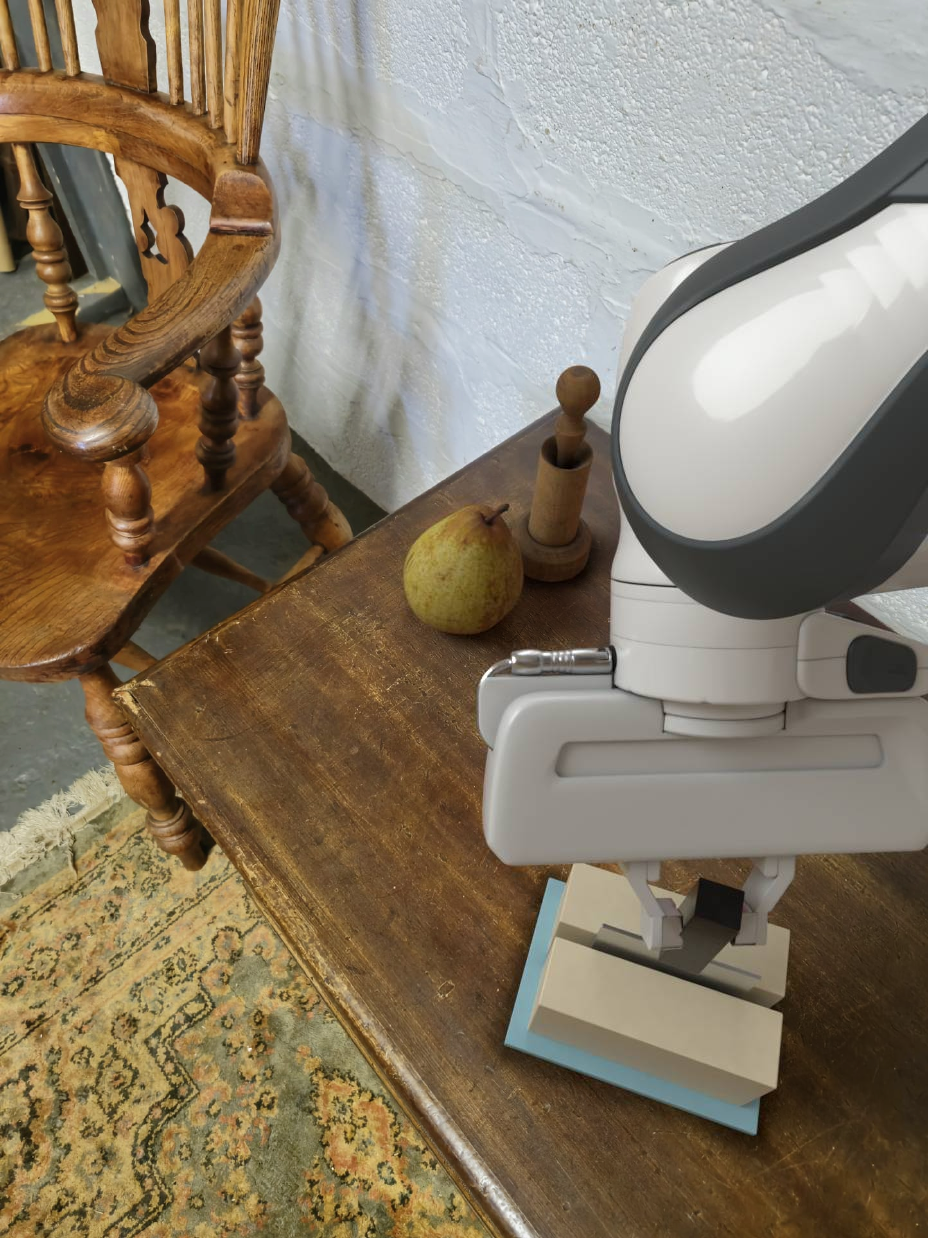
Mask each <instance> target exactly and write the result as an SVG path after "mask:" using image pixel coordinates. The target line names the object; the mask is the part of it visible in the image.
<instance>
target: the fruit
mask: <svg viewBox="0 0 928 1238" xmlns="http://www.w3.org/2000/svg"><path fill="white" fill-rule="evenodd" d="M509 508H510V504H509V503H503V504H500V506H498V507H497V508H496V509H493V508H492V507H490V506H489V505H484V504H479V503H474V504H470V505H467V506H465V507H463V508H461V509H459V510H457V511H455V512H454V513H452V514H449V515H448V516H447V517H444V518H442V520H440V521H438V522H436V524H433V525H431V526H430V527H428V528H427V529H426V530H425V531H424V532H423V533H422V534H420V536H419V537H418V538H417V539H415V541H414V543H413V544H412V546H411V548H410V549H409V551H408V553H407V555H406V558H405V561H404V565H403V574H402V575H403V577H402V578H403V579H402V580H403V587H404V593H405V596H406V600H407V602H408V604H409V606H410V609H411V610H412V612H413V613H414V615H415V616H416V617H417V618H418V619H419V620H420V621H421V622H422V623H423V624H425V625H426V626H427V627H429V628H431V629H433V630H435V631H438V632H442V633H445V634H453V635H476V634H479V633H483V632H486V631H488V630H490V629H491V628H493V627H494V626H495V625H497V624H498V623H499V622H500V621H502V620H503V619H504V618H505V617H506V616H507V615H508V614H509V613H510V612H511V611H512V610H513V608H514V607H515V605H516V604H517V602H518V600H519V598H520V596H521V593H522V590H523V586H524V580H525V579H524V576H525V575H524V574H523V563H522V558H521V554H520V551H519V548H518V545H517V543H516V541H515V539H514V537H513V535H512V534H511V533H512V531H511V530H510V528H509V526H508V525H507V522H506V521H505V520H504V517H502V514H504V513H505V512H508V511H509Z"/></svg>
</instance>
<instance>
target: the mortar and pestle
mask: <svg viewBox="0 0 928 1238" xmlns="http://www.w3.org/2000/svg"><path fill="white" fill-rule="evenodd" d="M601 390H602V385H601V381H600V377H599V376H598V374H597V373H596V372H595V370H594V369H592V368H590V367H589V366H587V365H581V364H579V365H577V364H576V365H572V366H569V367H568V368H566V369H565V370H563V371H562V372H561V374H560V375H559V377H558V378H557V381H556V384H555V395H556V399H557V401H558V403H559V406H560V407H561V409H562V415H561V416H559V418H557V420H556V421H555V424H554V432H555V434H552V435H551V436H548V437H547V438H546V439H545V440H544V441H543V442H542V444H541V446H540V451H539V456H538V463H537V464H538V465H537V470H536V471H537V472H536V476H535V477H536V478H535V485H534V490H533V495H532V496H533V498H532V503H531V509H528V510H527V511H525V512H523V513H522V514H520V515H519V516H518V517H517V518H516V520H515V521H514V523H513V524H512V525H513V526H512V529H511V534H512V535H513V537H514V539H515V541H516V543H517V545H518V548H519V551H520V554H521V558H522V563H523V575H524V576H526V577H528V578H531V579H532V580H535V581H541V582H546V583H547V582H548V583H556V582H557V583H558V582H563V581H567V580H569V579H572V578H574V577H576V576H577V575H579V574H580V573H581V572H582V571H583V570H584V568H585V567H586V565H587V563H588V560H589V555H590V551H591V547H592V540H593V537H592V532H591V528H590V527H589V525H588V523H587V522H586V521H585V520H584V519H583V518H582V517H581V515H582V510H583V505H584V501H585V495H586V491H587V486H588V483H589V482H588V481H589V478H590V474H591V473H590V472H591V469H592V464H593V463H592V462H593V460H594V449H593V448H592V446H591V444H590V443H589V442H588V441H587V440H586V439H585V437H586V435H587V432H588V424H587V421H586V420H584V419H583V418H584V416H585V415H586V413H587V412H589V410H590V409H592V408H593V407H594V406H595V404H596V403H597V402H598V401H599V398H600V396H601V392H602V391H601Z"/></svg>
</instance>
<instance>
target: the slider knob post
mask: <svg viewBox="0 0 928 1238" xmlns="http://www.w3.org/2000/svg"><path fill="white" fill-rule="evenodd" d="M685 896H686V898H685V899H684V900H683V902H682V903H681V905H680V906H679V907H678V909H679V910H680V912H681V913H682V915H683V931H682V932H681V933H680V935H681V937H682V939H683V946H682V948H681V949H671V950H652V951H650V950H648V948H647V946H646V944H645V942H644V940H643V938H642V936H640V935H637V934H634V933H631V932H628V931H625V930H622V929H619V928H616V927H613V926H611V925H608V924H605V923H603V924H602V925H601V927H600V929H599V931H598V933H597V935H596V937H595V939H594V941H593V943H592V945H591V946H590V948H591V949H594V950H597V951H600V952H603V953H606V954H609V955H612V956H615V957H618V958H621V959H624V960H627V961H630V962H633V963H636V964H639V965H642V966H645V967H647V968H650V969H653V970H656V971H659V972H662V973H665V974H668V975H671V976H674V977H677V978H680V979H683V980H686V981H689V982H692V983H695V984H698V985H701V986H703V987H706V988H709V989H712V990H715V991H718V992H721V993H724V994H727V995H730V996H733V997H736V998H739V999H740V998H741V997H742V996H743V995H744V994H745V993H747V992H748V991H749V990H750V989H751V988H753V987H754V986H755V985H756V984H757V983H758V982H760V981H761V976H760V975H757V974H754V973H751V972H748V971H745V970H742V969H739V968H736V967H733V966H730V965H727V964H724V963H721V962H718V961H715V960H713V959H714V958H715V957H716V955H717V954H718V953H719V952H720V951H721V950H722V949H723V948H724V947H725V946H726V945H727V944H728V943H729V942H730V941H731V940H732V939H733V937H734V936H735V935H736V934H737V933H738V932H739V931H740V929H741V921H742V913H743V904H744V896H745V891H742V890H741V889H739V888H736V887H732V886H730V885H726V884H723V883H720V882H717V881H714V880H711V879H707V878H705V877H701V876H700V877H699V878H698V879H697V881H696V882H695V884H694V885H693V887H692V888H691V889H690V891H689V892H688V893H687V895H685Z"/></svg>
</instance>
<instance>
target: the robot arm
mask: <svg viewBox="0 0 928 1238" xmlns="http://www.w3.org/2000/svg"><path fill="white" fill-rule="evenodd" d="M627 316H628V317H627V320H626V324H625V328H624V330H623V331H624V332H623V335H622V339H621V345H620V351H619V357H618V364H617V372H616V379H615V388H614V389H615V391H614V401H613V402H614V404H613V409H612V416H611V423H610V435H609V436H610V439H609V441H610V443H609V444H610V460H611V461H610V462H611V469H612V471H611V474H612V484H613V488H614V493H615V495H616V498H617V503H618V507H619V515H620V530H619V539H618V544H617V547H616V550H615V554H614V557H613V560H612V564H611V569H610V578H611V579H610V608H609V609H610V611H609V612H610V613H609V614H610V615H609V616H610V618H609V621H610V622H609V646H607V647H606V646H605V647H604V646H599V647H598V646H597V647H574V648H567V649H566V648H565V649H558V650H541V649H537V648H524V649H517V650H514V651H513V650H512V651H511V652H510V653H509V657H508V658H505V659H502V660H499V661H497V662H495V663H493V664H492V665H490V666H489V667H488V668H487V669H486V670H485V671H484V673H483V674H482V675H481V677H480V679H479V681H478V683H477V686H476V690H475V725H476V731H477V733H478V735H479V736H478V737H480V739H481V741H482V742H483V744H484V745H485V746H486V747H488V748H487V755H486V760H485V768H484V778H483V789H482V792H483V793H482V806H481V809H482V810H481V811H482V812H481V814H482V816H481V820H482V830H483V835H484V838H485V842H486V845H487V846H488V848H489V849H490V850H491V851H492V853H493V854H494V855H495V856H496V857H497V858H498V860H500V861H501V862H502V863H503V864H505V865H506V866H512V867H518V866H519V867H520V866H546V865H548V866H549V865H573V864H577V863H584V864H601V863H604V864H605V863H617V865H618V867H619V869H620V870H621V872H622V874H623V876H624V877H626V879H627V880H628V882H629V884H630V885H631V887H632V889H633V890H634V892H635V894H636V896H637V897H638V899H639V901H640V902H641V925H640V927H641V934H642V938H643V940H644V942H645V944H646V946H647V948H648V950H650V951H652V950H671V949H681V948H682V946H683V939H682V937H681V935H680V933H681V932H682V931H683V915H682V913H681V912H680V910H679V909H678V908H676V904H675V903H674V901H673V900H672V898H655V896H654V894H653V893H652V891H651V889H650V887H649V886H648V884H649V883H657V882H659V881H660V880H661V861H681V860H682V861H684V860H686V861H687V860H709V859H737V858H748V860H750V862H751V863H752V864H753V865H754V866H753V868H752V869H751V871H750V873H749V874H748V877H747V879H746V880H745V882H744V884H743V885H742V887H741V889H740V890H742V891H745V896H744V904H743V913H742V921H741V929H740V931H739V932H738V933H737V934H736V935H735V936H734V937H733V939H732V940H731V941H730V944H731V945H732V946H733V947H737V946H760V945H766V941H767V923H769V922H768V919H769V917H768V916H769V913H770V912H772V911H773V909H774V908H775V906H776V905H777V904H778V902H779V900H780V899H781V897H782V896H783V895H784V893H785V892H786V890H787V889H788V887H789V886H790V885H791V883H792V882H793V880H794V879H795V877H796V859H797V858H796V857H797V856H819V855H822V856H823V855H845V854H847V855H849V854H872V853H873V854H874V853H875V854H876V853H899V852H900V853H901V852H902V853H903V852H919V851H923V850H924V849H925V848H926V847H927V846H928V701H927V700H926V699H925V698H923V697H921V696H925V695H927V694H928V644H927V643H924V642H922V641H919V640H917V639H915V638H911V637H908V636H905V635H901V634H898V633H895V632H892V631H888V630H885V629H882V628H879V627H875V626H872V625H868V624H867V623H862V620H861V619H860V618H857V617H854V616H852V615H850V614H846V613H842V612H838V611H832V610H828V609H827V610H826V608H827V607H830V606H834V605H837V604H842V603H844V602H849V601H851V600H854V599H856V598H859V597H862V596H870V595H876V594H877V595H878V594H884V593H891V592H899V591H900V592H901V591H906V590H915V589H922V588H923V589H924V588H928V112H927V113H925V114H924V115H923V116H922V117H921V118H920V119H919V120H917V121H916V122H915V123H914V124H913V125H911V126H910V127H909V129H907V130H906V131H905V132H904V133H902V134H901V135H900V136H899V137H898V138H897V139H895V140H894V141H893V142H892V143H891V144H889V145H888V146H887V147H886V148H885V149H883V150H882V151H881V152H880V153H878V154H877V155H876V156H875V157H874V158H872V159H871V160H870V161H868V162H867V163H865V165H863V166H862V167H861V168H860V169H858V170H856V171H855V172H854V173H852V174H851V175H849V176H848V177H847V178H845V179H844V180H843V181H841V182H840V183H838V184H837V185H836V186H834V187H832V188H831V189H829V190H828V191H826V192H825V193H823V194H821V195H820V196H819V197H817V198H815V199H813V200H811V201H810V202H808V203H806V204H805V205H803V206H802V207H799V208H798V209H796V210H794V211H792V212H790V213H788V214H787V215H785V216H783V217H781V218H779V219H777V220H775V221H773V222H771V223H770V224H768V225H766V226H764V227H762V228H760V229H758V230H755V231H754V232H752V233H750V234H748V235H747V236H745V237H742V238H740V239H736V240H731V241H725V242H717V243H713V244H709V245H707V246H706V245H705V246H704V247H703V246H702V247H701V248H697V249H695V250H693V251H690V252H688V253H685V254H683V255H681V256H680V257H678V258H675V259H674V260H672V261H671V262H669V263H667V264H666V265H664V266H663V267H662V268H660V269H659V270H657V271H656V272H655V273H654V274H652V275H651V276H650V277H649V278H647V280H646V281H645V282H644V283H643V284H642V285H641V287H640V288H639V289H638V291H637V293H636V295H635V297H634V300H633V302H632V305H631V307H630V311H629V313H628V315H627ZM507 669H509V671H510V673H504V674H503V673H502V674H501V673H500V672H502V671H504V670H507ZM499 673H500V674H499ZM648 882H649V883H648Z"/></svg>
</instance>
